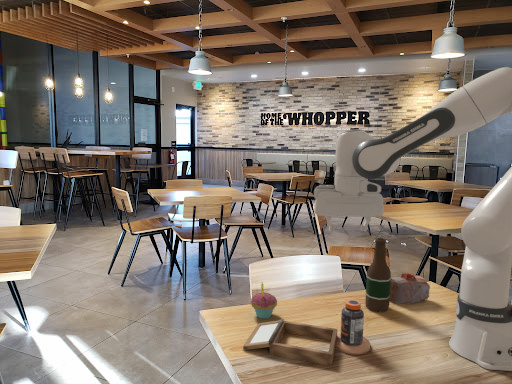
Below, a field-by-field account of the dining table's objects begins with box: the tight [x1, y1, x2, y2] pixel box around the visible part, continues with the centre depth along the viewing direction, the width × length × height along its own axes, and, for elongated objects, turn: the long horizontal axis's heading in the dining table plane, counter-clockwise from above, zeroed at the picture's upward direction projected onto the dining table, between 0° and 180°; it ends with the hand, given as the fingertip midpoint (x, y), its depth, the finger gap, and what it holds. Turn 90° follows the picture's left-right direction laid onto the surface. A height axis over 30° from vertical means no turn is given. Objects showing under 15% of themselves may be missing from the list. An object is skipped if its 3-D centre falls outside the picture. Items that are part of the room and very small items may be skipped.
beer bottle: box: [364, 237, 392, 313], centre depth 127 cm, size 8×8×24 cm
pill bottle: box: [340, 299, 365, 346], centre depth 104 cm, size 6×6×11 cm
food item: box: [389, 272, 431, 305], centre depth 135 cm, size 14×8×10 cm, turn 107°
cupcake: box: [250, 282, 278, 320], centre depth 121 cm, size 9×8×12 cm
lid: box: [242, 319, 280, 351], centre depth 106 cm, size 7×14×3 cm, turn 163°
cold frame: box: [268, 318, 338, 367], centre depth 103 cm, size 16×14×4 cm
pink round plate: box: [335, 332, 371, 356], centre depth 104 cm, size 10×10×1 cm
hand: (347, 230), depth 114 cm, fingers open, 8 cm apart
